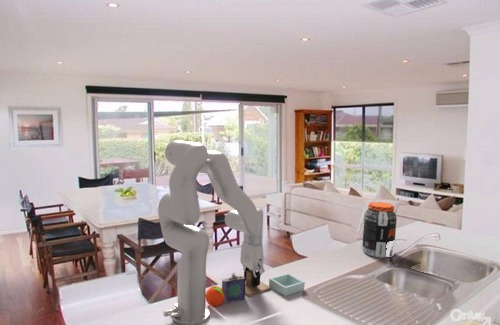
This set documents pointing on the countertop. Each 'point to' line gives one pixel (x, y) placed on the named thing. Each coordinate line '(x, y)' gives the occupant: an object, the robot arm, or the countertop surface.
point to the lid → (249, 285)
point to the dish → (286, 284)
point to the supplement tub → (378, 228)
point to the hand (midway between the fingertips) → (251, 282)
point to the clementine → (215, 296)
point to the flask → (234, 288)
